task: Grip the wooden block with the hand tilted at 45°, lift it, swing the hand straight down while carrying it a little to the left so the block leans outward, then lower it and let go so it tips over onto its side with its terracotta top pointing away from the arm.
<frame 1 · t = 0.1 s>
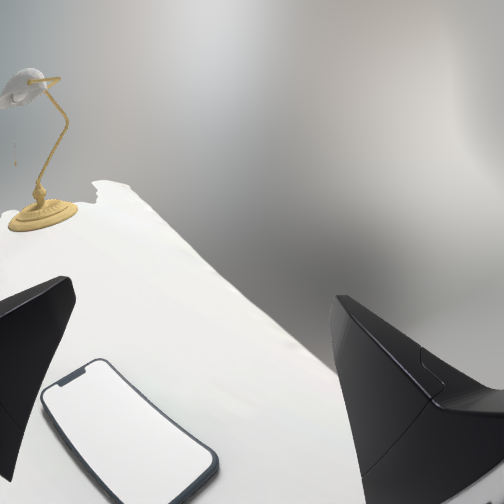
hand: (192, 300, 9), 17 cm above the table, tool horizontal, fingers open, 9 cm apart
phone case: (119, 437, 18), on the table
desk lamp: (41, 217, 64), on the table
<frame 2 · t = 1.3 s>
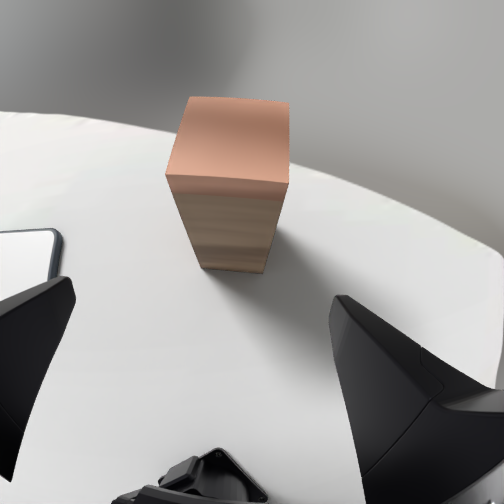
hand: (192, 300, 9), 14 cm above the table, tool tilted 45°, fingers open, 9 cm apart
phone case: (9, 272, 23), on the table
wooden block: (234, 242, 24), on the table
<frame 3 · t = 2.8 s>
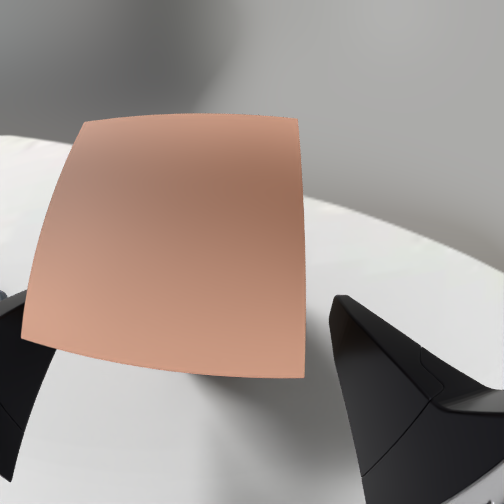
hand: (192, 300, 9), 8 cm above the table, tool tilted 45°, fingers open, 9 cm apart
wooden block: (214, 317, 17), on the table
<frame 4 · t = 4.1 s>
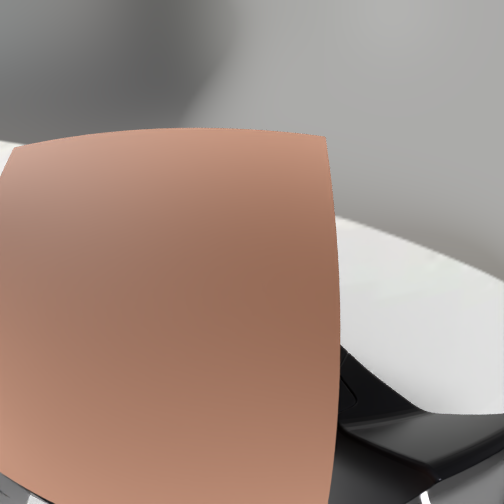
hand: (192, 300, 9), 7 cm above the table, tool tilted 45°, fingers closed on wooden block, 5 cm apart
wooden block: (210, 348, 15), on the table, touching gripper
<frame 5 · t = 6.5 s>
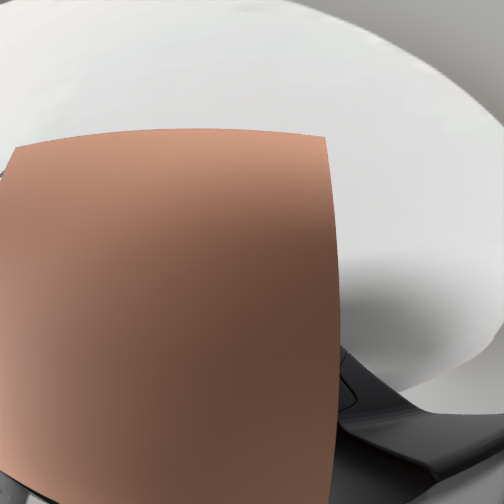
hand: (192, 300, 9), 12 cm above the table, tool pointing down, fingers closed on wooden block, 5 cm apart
wooden block: (209, 348, 15), point 8 cm above the table, tilted 44°, touching gripper
when the fingers open (7 cm above the table, at t = 8.5 s): wooden block moves 2 cm and tips over, point 2 cm above the table.
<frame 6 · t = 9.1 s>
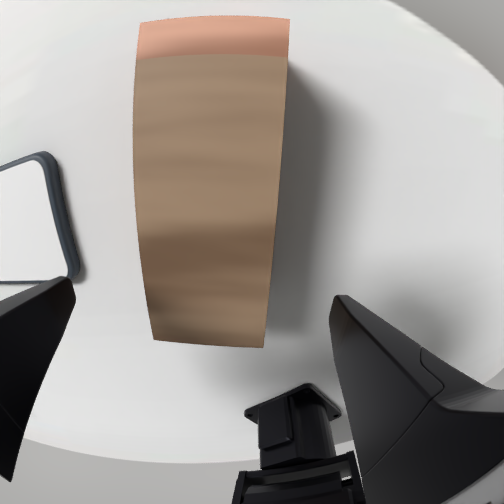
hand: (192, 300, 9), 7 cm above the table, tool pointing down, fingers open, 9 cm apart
phone case: (1, 224, 16), on the table
wooden block: (212, 311, 15), point 2 cm above the table, tilted 90°
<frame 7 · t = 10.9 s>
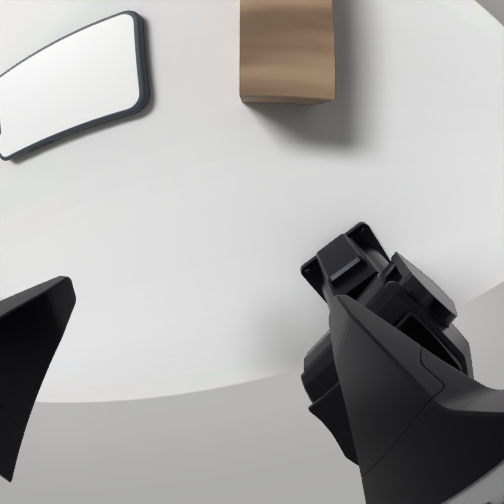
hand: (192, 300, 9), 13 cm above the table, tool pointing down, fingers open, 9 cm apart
phone case: (62, 88, 17), on the table
wooden block: (282, 99, 15), point 2 cm above the table, tilted 90°
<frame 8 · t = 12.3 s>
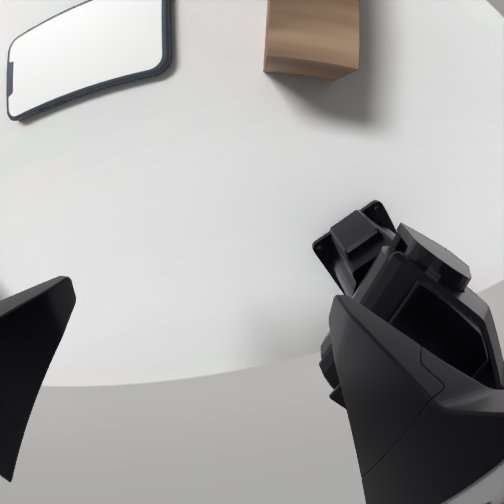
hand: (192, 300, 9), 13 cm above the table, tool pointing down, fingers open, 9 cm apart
phone case: (81, 50, 16), on the table
wooden block: (306, 68, 15), point 2 cm above the table, tilted 90°
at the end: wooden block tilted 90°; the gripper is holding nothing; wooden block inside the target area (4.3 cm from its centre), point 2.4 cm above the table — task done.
